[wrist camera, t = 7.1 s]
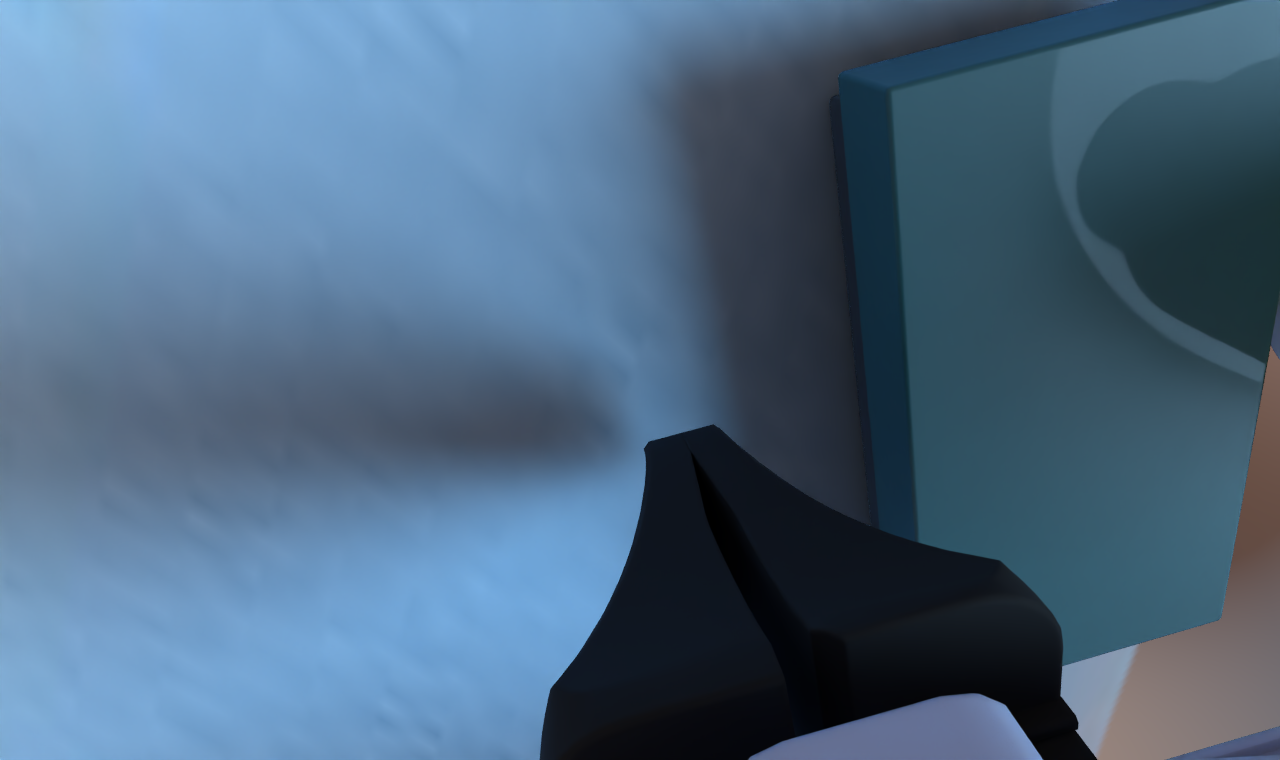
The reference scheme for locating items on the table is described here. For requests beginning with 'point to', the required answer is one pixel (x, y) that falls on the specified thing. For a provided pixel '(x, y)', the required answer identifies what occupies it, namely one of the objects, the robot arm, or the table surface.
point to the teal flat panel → (1069, 299)
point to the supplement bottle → (1276, 332)
